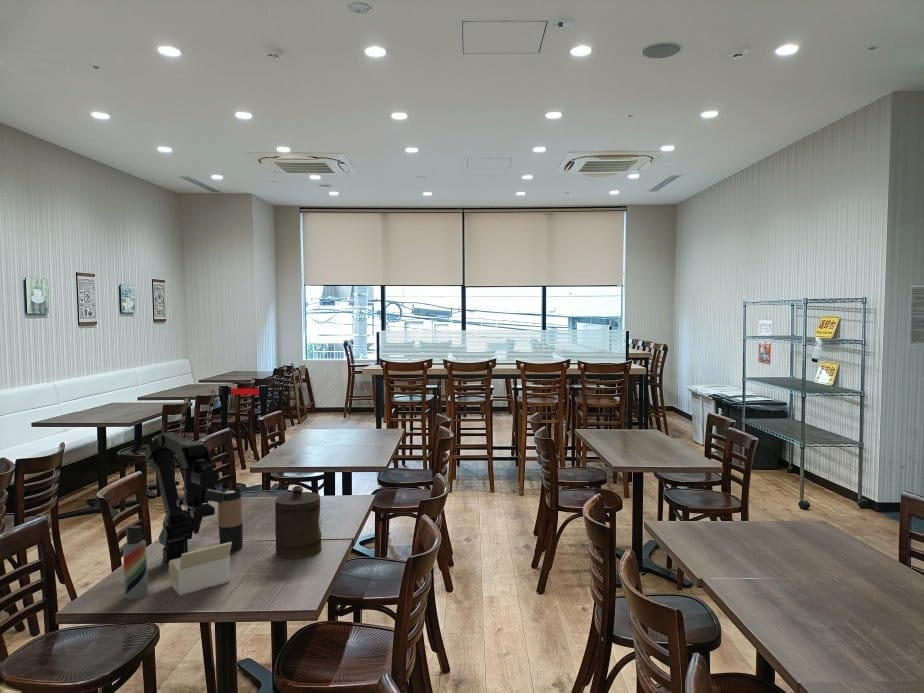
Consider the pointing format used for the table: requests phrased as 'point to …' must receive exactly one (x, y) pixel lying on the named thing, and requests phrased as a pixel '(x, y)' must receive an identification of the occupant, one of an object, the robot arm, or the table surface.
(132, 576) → the lotion bottle
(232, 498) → the travel mug
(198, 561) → the top flap
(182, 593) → the storage box
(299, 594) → the table surface
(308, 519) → the wooden container
